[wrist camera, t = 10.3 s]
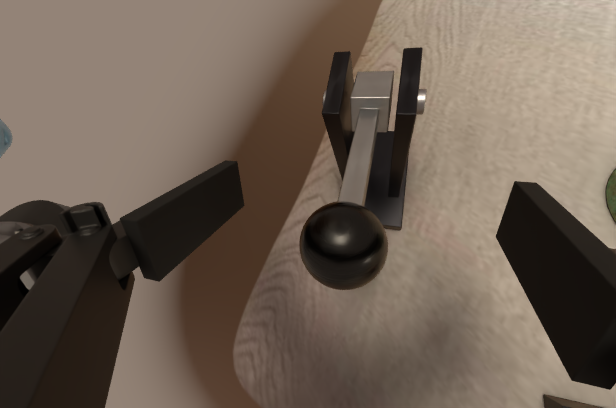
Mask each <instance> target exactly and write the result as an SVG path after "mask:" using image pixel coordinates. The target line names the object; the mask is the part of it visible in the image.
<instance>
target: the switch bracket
mask: <svg viewBox="0 0 616 408" xmlns="http://www.w3.org/2000/svg"><path fill="white" fill-rule="evenodd" d="M421 60H422V48H405V49H404V50H403V59H402V67H401V76H400V84H399V93H398V102H397V110H396V120H395V130H394V131H388V132H377V135H376V141H375V147H374V152H373V158H372V164H371V170H370V176H369V181H368V187H367V193H366V199H365V205H364V207H365V208H367V209H368V210H370V211H371V212H372V213H373V214H374V215H376V217H377V218H378V219H379V220H380V222H381V224H382V225H383V227H384V228H387V229H395V230H401V227H402V217H403V207H404V196H405V186H406V175H407V165H408V155H409V147H410V143H411V138H412V133H413V129H414V124H415V119H416V115H417V114H423V112H424V108H425V102H426V92H427V91H426V89H419V82H420V71H421ZM353 86H354V79H353V70H352V62H351V53H350V51H349V52H335V53H334V57H333V62H332V66H331V71H330V76H329V81H328V86H327V90H326V91H325V92H324V95H323V110H322V115H323V119H324V122H325V125H326V129H327V132H328V135H329V138H330V142H331V145H332V148H333V151H334V155H335V158H336V161H337V164H338V168H339V171H340V174H341V177H342V181H343V177H344V173H345V169H346V165H347V161H348V156H349V152H350V148H351V144H352V140H353V136H354V132H355V131H352V125H351V105H350V97H351V93H352V90H353Z"/></svg>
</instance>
